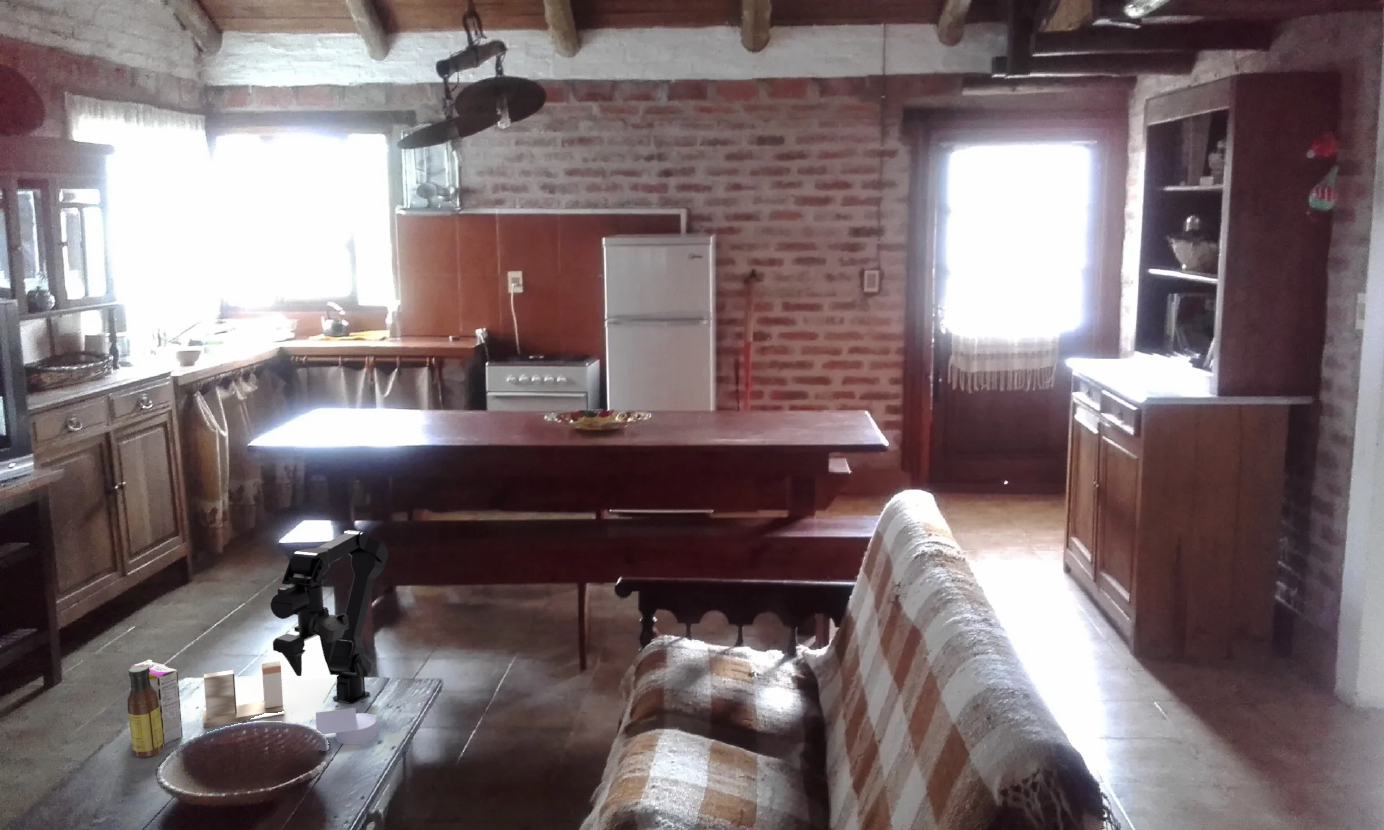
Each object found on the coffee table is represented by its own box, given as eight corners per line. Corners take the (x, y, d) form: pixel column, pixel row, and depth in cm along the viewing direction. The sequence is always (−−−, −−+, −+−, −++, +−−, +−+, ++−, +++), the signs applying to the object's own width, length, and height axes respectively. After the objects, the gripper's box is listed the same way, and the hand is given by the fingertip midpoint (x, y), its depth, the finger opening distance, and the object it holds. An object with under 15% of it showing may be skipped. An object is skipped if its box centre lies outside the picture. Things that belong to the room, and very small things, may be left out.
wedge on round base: (317, 749, 244) (377, 741, 248) (315, 720, 243) (376, 713, 247) (317, 732, 252) (376, 724, 256) (315, 704, 251) (374, 697, 255)
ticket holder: (281, 702, 268) (279, 659, 266) (284, 714, 261) (281, 669, 259) (203, 715, 260) (200, 671, 258) (204, 727, 254) (200, 681, 252)
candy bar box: (134, 733, 251) (128, 665, 248) (155, 725, 255) (149, 658, 253) (163, 745, 245) (157, 676, 242) (183, 737, 249) (178, 668, 247)
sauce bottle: (158, 743, 246) (151, 659, 243) (168, 752, 242) (162, 666, 239) (127, 752, 242) (120, 666, 239) (137, 762, 237) (129, 675, 234)
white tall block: (282, 700, 266) (279, 661, 264) (283, 705, 263) (280, 665, 261) (264, 703, 264) (261, 663, 262) (265, 708, 261) (262, 668, 259)
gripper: (307, 622, 241) (310, 689, 244) (365, 597, 258) (368, 660, 261) (269, 614, 246) (273, 680, 249) (329, 591, 263) (332, 652, 265)
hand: (313, 668), depth 256 cm, fingers open, 9 cm apart
